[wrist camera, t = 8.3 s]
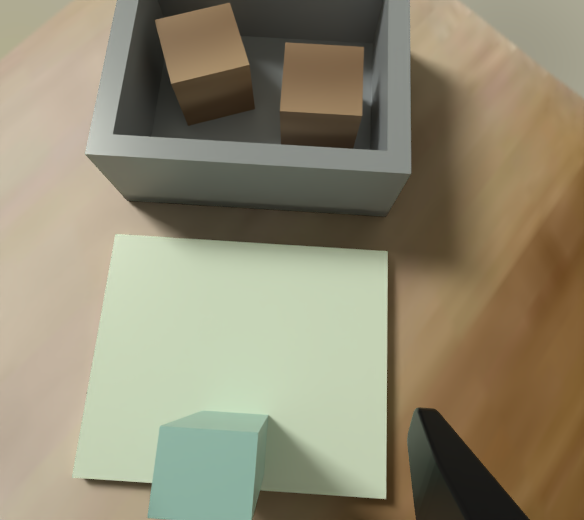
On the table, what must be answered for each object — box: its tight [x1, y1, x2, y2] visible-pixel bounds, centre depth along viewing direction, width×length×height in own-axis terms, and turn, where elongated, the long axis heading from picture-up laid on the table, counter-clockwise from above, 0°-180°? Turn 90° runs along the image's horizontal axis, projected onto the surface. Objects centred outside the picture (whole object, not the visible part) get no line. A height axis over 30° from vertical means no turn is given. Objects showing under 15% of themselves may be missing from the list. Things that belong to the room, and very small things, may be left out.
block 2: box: [280, 42, 364, 149], centre depth 18 cm, size 3×3×3 cm
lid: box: [72, 234, 388, 520], centre depth 14 cm, size 9×11×6 cm
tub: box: [85, 0, 411, 217], centre depth 18 cm, size 9×11×4 cm
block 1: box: [155, 3, 255, 126], centre depth 18 cm, size 3×3×3 cm
